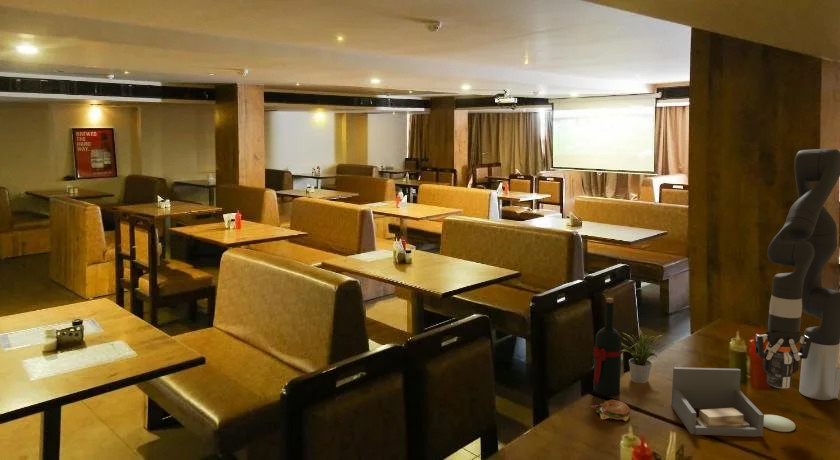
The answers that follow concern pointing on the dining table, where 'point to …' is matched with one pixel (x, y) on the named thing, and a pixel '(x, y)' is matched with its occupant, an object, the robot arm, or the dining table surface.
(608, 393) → the wine bottle
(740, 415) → the offcut upper
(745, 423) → the offcut lower
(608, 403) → the hamburger
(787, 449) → the dining table surface
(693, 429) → the frame
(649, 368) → the house plant
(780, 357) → the pill bottle
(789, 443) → the dining table surface
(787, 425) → the coaster
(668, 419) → the dining table surface
